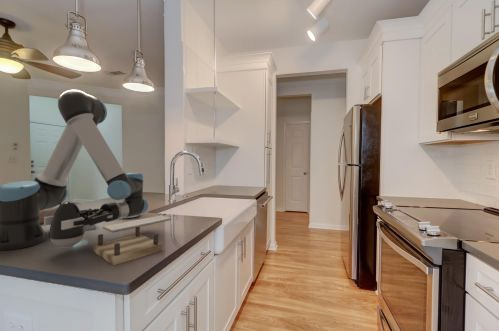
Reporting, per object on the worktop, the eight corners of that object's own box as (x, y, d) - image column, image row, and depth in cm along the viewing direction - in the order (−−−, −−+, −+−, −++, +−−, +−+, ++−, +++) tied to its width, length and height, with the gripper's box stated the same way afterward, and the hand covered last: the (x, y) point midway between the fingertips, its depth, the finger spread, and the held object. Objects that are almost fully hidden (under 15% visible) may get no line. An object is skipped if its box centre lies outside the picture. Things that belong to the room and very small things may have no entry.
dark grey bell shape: (75, 237, 94) (76, 198, 94) (90, 243, 89) (91, 201, 88) (43, 245, 85) (43, 201, 85) (57, 252, 80) (57, 205, 80)
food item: (33, 226, 117) (33, 206, 117) (25, 224, 121) (25, 204, 120) (65, 220, 129) (65, 201, 129) (57, 218, 133) (57, 200, 133)
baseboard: (100, 228, 119) (112, 233, 111) (100, 222, 119) (112, 227, 111) (158, 217, 143) (171, 220, 136) (158, 212, 143) (171, 215, 136)
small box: (95, 229, 116) (95, 218, 116) (74, 231, 112) (74, 220, 112) (95, 225, 123) (95, 214, 122) (75, 227, 118) (75, 216, 118)
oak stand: (93, 251, 89) (93, 235, 88) (139, 240, 102) (139, 225, 102) (113, 265, 78) (113, 246, 78) (162, 250, 91) (162, 234, 91)
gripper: (132, 223, 99) (73, 240, 78) (96, 216, 108) (34, 229, 87) (133, 205, 99) (73, 216, 78) (96, 199, 107) (34, 208, 87)
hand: (53, 223), depth 83 cm, fingers closed on dark grey bell shape, 9 cm apart
